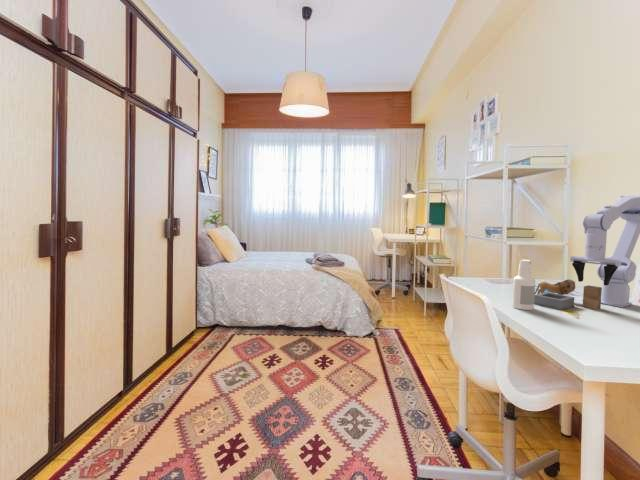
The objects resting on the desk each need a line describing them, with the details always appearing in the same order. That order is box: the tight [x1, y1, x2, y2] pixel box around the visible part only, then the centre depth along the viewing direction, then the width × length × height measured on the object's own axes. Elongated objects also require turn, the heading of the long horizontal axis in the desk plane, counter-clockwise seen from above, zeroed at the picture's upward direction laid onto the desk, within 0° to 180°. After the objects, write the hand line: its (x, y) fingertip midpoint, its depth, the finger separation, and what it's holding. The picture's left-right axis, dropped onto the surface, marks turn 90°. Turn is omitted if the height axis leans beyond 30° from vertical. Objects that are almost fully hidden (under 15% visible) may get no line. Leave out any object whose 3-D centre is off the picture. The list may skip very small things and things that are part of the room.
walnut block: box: [582, 284, 602, 311], centre depth 119 cm, size 4×4×8 cm
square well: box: [534, 291, 575, 311], centre depth 123 cm, size 10×10×4 cm
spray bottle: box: [511, 259, 536, 311], centre depth 119 cm, size 7×7×18 cm
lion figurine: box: [535, 279, 576, 296], centre depth 132 cm, size 15×5×9 cm, turn 45°
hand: (593, 283), depth 119 cm, fingers open, 7 cm apart
